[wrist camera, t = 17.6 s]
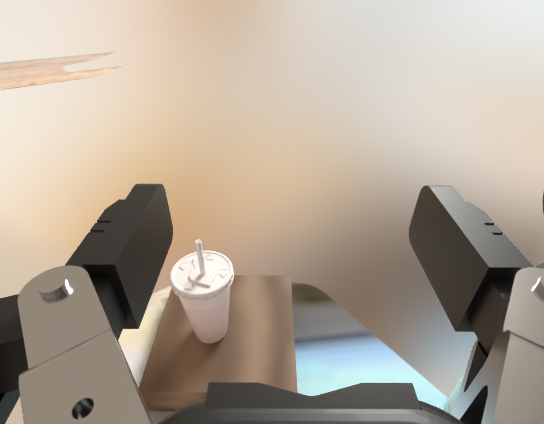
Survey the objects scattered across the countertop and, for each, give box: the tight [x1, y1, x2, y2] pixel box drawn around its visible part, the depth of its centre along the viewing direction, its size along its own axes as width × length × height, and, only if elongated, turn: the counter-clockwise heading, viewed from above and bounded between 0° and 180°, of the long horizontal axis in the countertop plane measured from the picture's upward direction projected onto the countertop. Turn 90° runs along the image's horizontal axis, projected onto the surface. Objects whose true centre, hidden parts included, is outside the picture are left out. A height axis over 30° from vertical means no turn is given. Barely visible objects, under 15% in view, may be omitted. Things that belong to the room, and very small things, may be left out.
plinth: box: [139, 275, 297, 411], centre depth 41 cm, size 16×16×4 cm
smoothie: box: [170, 239, 234, 343], centre depth 35 cm, size 6×6×14 cm
